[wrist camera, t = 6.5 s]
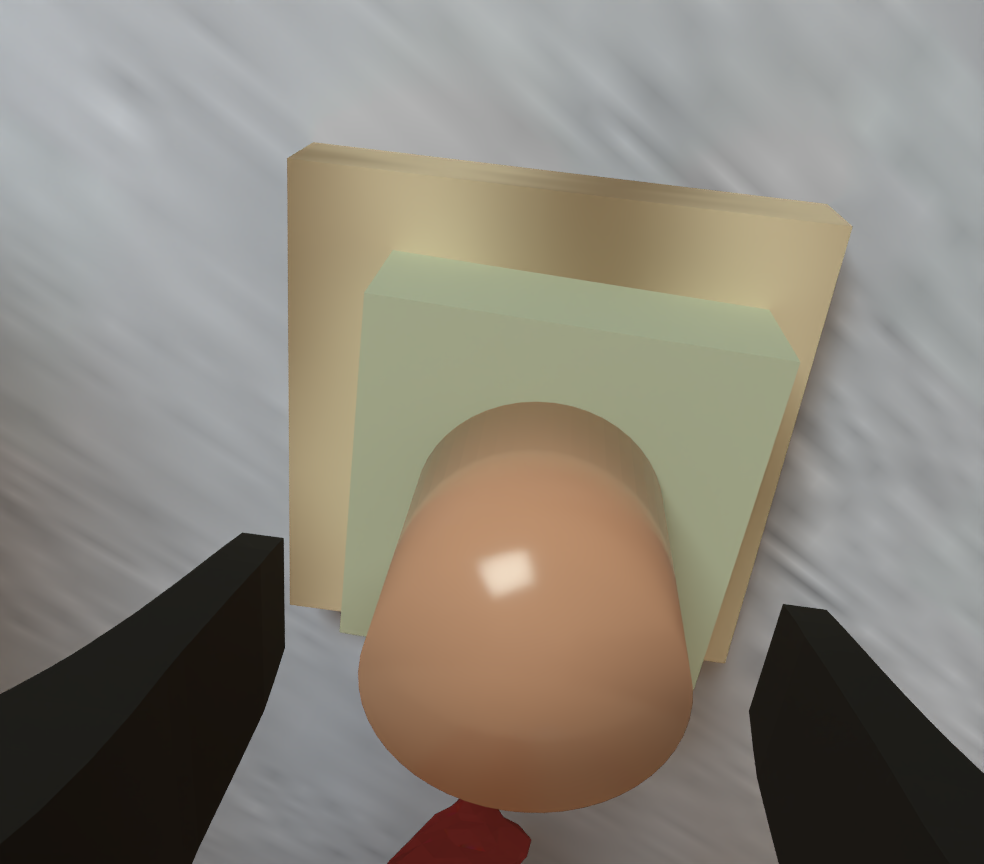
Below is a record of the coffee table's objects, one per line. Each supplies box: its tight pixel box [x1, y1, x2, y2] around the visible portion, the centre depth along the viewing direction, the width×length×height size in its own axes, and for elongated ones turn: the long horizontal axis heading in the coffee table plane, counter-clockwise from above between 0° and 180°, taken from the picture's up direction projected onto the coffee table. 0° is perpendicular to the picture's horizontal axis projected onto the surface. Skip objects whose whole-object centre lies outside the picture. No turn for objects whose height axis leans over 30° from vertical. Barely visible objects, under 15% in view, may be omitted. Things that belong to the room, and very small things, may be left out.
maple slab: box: [287, 142, 852, 663], centre depth 19 cm, size 10×10×2 cm
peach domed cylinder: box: [358, 402, 693, 813], centre depth 14 cm, size 4×4×4 cm
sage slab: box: [340, 250, 800, 690], centre depth 17 cm, size 7×7×2 cm
